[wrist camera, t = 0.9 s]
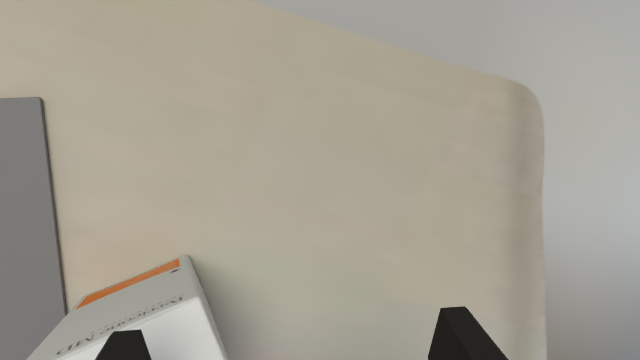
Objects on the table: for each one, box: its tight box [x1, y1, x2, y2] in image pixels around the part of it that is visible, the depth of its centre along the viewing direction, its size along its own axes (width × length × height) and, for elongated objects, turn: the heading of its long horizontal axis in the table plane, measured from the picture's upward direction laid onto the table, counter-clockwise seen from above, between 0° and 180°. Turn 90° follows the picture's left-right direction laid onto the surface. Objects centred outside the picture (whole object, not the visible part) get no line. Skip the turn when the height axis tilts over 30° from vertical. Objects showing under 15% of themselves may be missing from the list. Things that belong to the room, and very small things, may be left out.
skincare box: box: [26, 255, 229, 360], centre depth 19 cm, size 6×4×12 cm
